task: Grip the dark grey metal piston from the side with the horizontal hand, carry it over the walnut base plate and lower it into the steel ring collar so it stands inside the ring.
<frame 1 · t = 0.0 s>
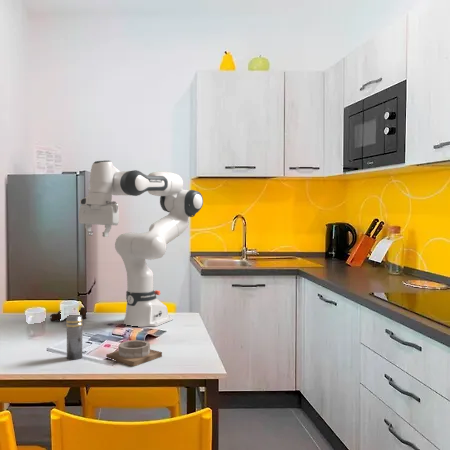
hand: (97, 236, 196), 39 cm above the table, tool pointing down, fingers open, 8 cm apart
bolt: (68, 321, 222), on the table
piston: (74, 357, 168), on the table
collar plate: (134, 357, 168), on the table
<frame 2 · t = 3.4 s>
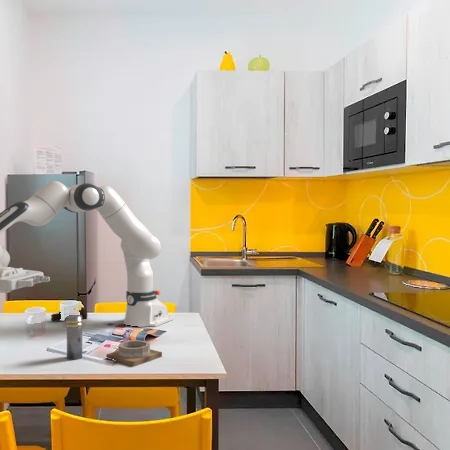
hand: (41, 281, 169), 25 cm above the table, tool horizontal, fingers open, 8 cm apart
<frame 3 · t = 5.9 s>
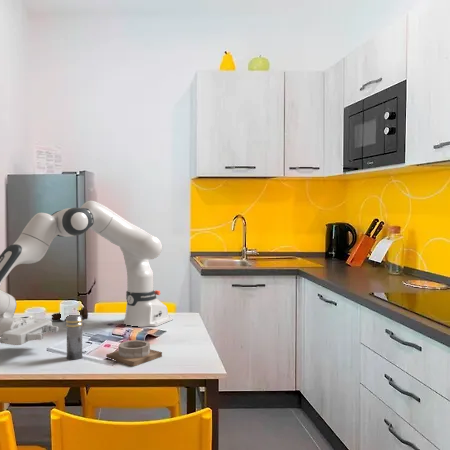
hand: (49, 333, 170), 8 cm above the table, tool horizontal, fingers open, 8 cm apart
nothing on the table moved.
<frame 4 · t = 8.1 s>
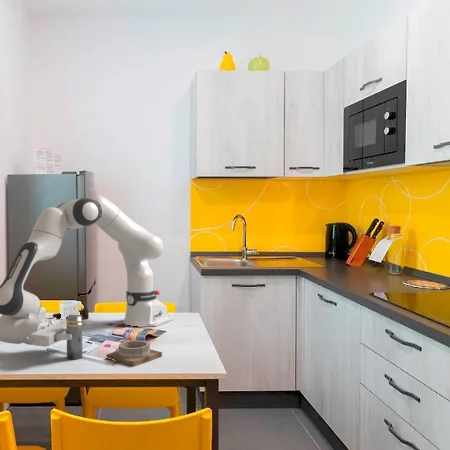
hand: (77, 334, 168), 8 cm above the table, tool horizontal, fingers closed on piston, 5 cm apart
piston: (74, 357, 168), on the table, touching gripper
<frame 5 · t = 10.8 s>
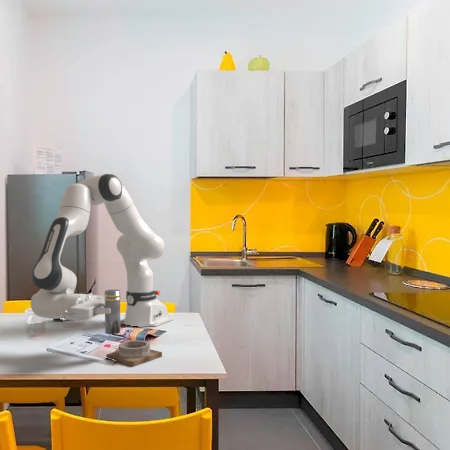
hand: (115, 308, 168), 17 cm above the table, tool horizontal, fingers closed on piston, 5 cm apart
piston: (112, 332, 168), point 9 cm above the table, touching gripper
when the fingers open (11 cm above the table, at t = 13.4 s): piston stays where it is, resting on collar plate.
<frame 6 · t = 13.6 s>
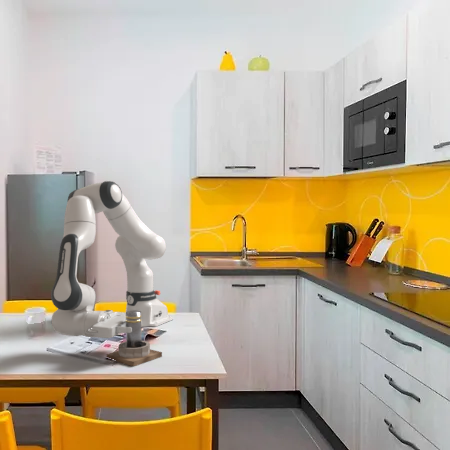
hand: (136, 326, 168), 11 cm above the table, tool horizontal, fingers open, 7 cm apart
piston: (134, 353, 168), point 2 cm above the table, touching collar plate
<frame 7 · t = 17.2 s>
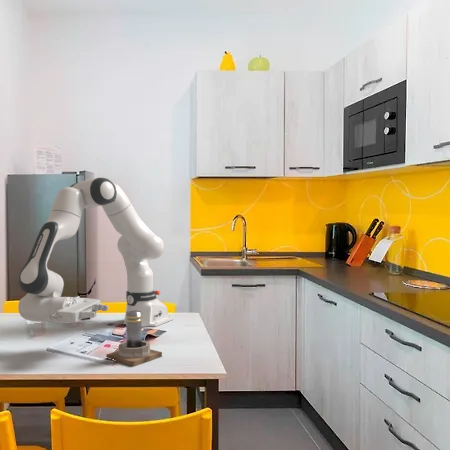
hand: (101, 311, 170), 15 cm above the table, tool horizontal, fingers open, 8 cm apart
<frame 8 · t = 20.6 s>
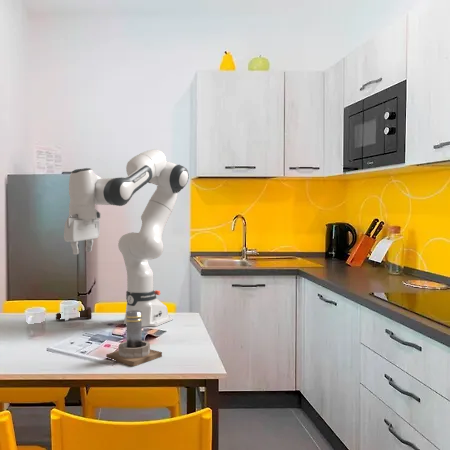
hand: (82, 253, 178), 34 cm above the table, tool pointing down, fingers open, 8 cm apart
at the end: piston 0.0 cm off-centre on the collar plate, point 1.5 cm above the collar plate's base; piston tilted 1°; the gripper is holding nothing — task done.
